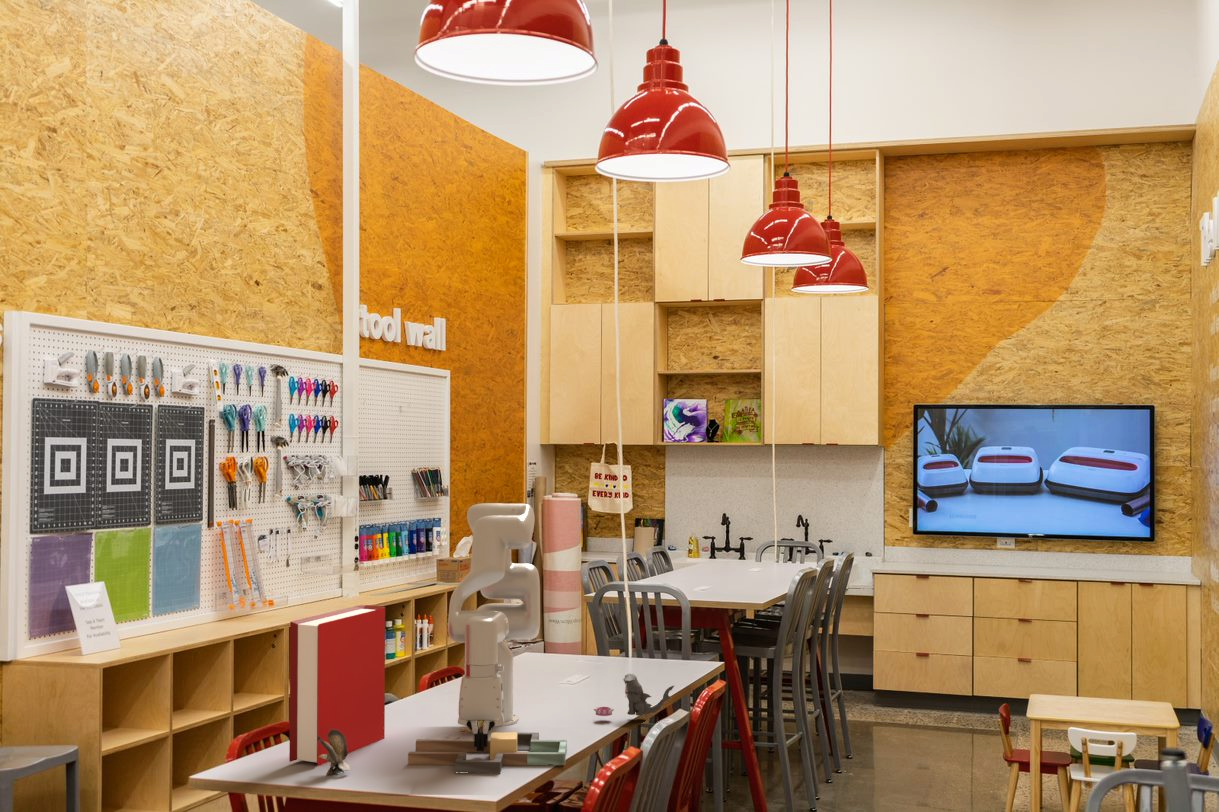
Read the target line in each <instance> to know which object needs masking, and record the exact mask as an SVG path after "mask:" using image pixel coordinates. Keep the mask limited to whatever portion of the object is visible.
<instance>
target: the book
mask: <svg viewBox="0 0 1219 812" xmlns="http://www.w3.org/2000/svg"><path fill="white" fill-rule="evenodd" d="M289 622H290V623H289V627H290V628H289V629H290V630H289V634H290V635H289V640H290V641H289V642H290V643H289V658H290V659H289V754H288V755H289V757H288V758H289V760H288V761H289V762H290V763H291V762H295V761H297V760H298V761H302V762H303V761H305V762H310V763H316V764H317V766H318V767H319V766H322V765H324V764H327V763H330V762H329V761H327V760H326V759H323V758H319V756H321V755H323V754H325V755H328V751H327V750H326V748H325V747H324V745H323V744H322V743H321V742H320V741H319V740H318V736H319V737H320V738H321V739H322V740H323V741H325V742H327V743H329V744H330V742H329V739H328V733H329V732H330V731H331V729H333V730H335V729H336V730H339V731H341V733H342V734H343V735H344V736H345V738H346V743H347V750H348V754H350V753H353V752H356V751H358V750H360V749H362V748H365V747H367V746H370V745H373V744H374V743H377V742H379V741H382V740H385V733H386V732H385V727H386V726H385V722H386V719H385V717H386V716H385V715H386V714H385V713H386V711H385V709H386V707H385V703H386V702H385V701H386V699H385V697H386V692H385V691H386V690H385V689H386V606H384V605H383V606H379V605H371V604H369V605H368V604H364V605H361V604H360V605H356V606H355V605H354V606H350V607H347V608H346V607H345V608H343V609H338V610H333V611H331V612H330V611H329V612H325V613H321V614H317V615H312V616H308V617H303V618H300V619H295V620H291V621H289Z"/></svg>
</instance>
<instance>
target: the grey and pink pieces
mask: <svg viewBox="0 0 1219 812" xmlns="http://www.w3.org/2000/svg"><path fill="white" fill-rule="evenodd" d="M622 680H623V682H624V685H625V688H624V689H625V690H624V694H625V696H626V698H627V701H628V711H627V715H630V716H631V715H632V716H633V715H635V716H637V717H638V716H644V715H649V714H655V713H657V712H658V711H659V710H660V709H661V708H662V707H663V705H664V704H665V702H667V701H669V700H670V699H672V696H670V695H669V693H670V691H672V690H673V688H674V687H675V685H671V686H669V687H667V688H666V689H665V691H664V693H663V695H662V696H663V697H662V699H661V700H660V701H659V702H658V703H657V704H656V705H654V706H653V705H652V704H650V703H648V702H647V701H646V700H647V699H648V698H652V696H651V695H650V694H648V693H646V692H644V690H643V687H642V684H640V682H639V680H638V678H637V675H635V674H634V673H627V674H626V675H624V677H623V678H622ZM593 711H594V712H595V715H596V716H601V717H607V716H612V715H613V712H614V711H615V709H614V708H612V706H611V707H609V706H598V707H595V708H593Z"/></svg>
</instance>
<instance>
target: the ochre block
mask: <svg viewBox="0 0 1219 812" xmlns="http://www.w3.org/2000/svg"><path fill="white" fill-rule="evenodd" d="M517 733H518V732H516V731H515V732H514V731H513V732H512V731H510V732H506V731H505V732H500V733H498V732H491V735H490V738H489V740H490V752H489V754H490V755H489V760H494V759H495V757H496V754H497V752H518V750H517Z"/></svg>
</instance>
